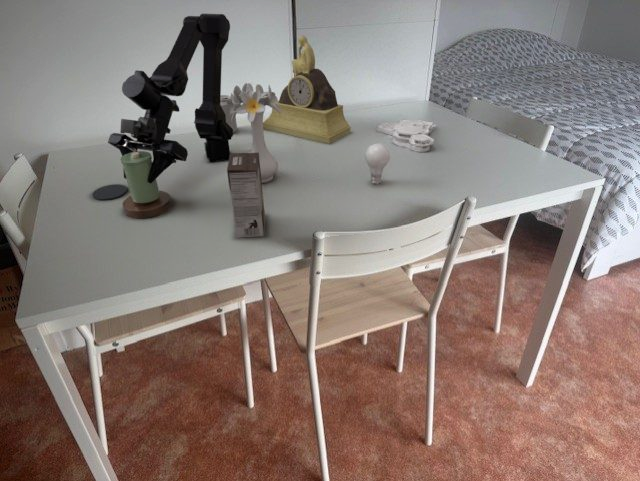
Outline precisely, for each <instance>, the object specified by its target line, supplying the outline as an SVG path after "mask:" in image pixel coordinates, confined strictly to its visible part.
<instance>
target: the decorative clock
mask: <svg viewBox="0 0 640 481" xmlns="http://www.w3.org/2000/svg"><path fill="white" fill-rule="evenodd" d="M297 40H298V43H299V46H298V49H297V50H298V53H297V58H298V59H297V58H296V59H295V58H294V59H292V60H291V65H292V73H293V74H294V75H293V77H292V78H291V79H290V80H289V82H288V84H287V85H286V86H285V87H284V88H283V89H282V91H281V93H280V96H279V100H278V102H277V104H274V105H277V106H278V107H279V108H280V110H281V111H282V114H281V113H280V112H278V111H276V110H275V109H273V108H272V109H271V112H270V114H269V116H268V117H267V118H266V119H265V120H263V130H268V131H272V132H277V133H281V134H285V135H289V136H294V137H298V138H302V139H305V140H311V141H314V142H319V143H323V144H327V145H330V144H332V143H334V142H336V141H338V140H340V139H341V138H343V137H345V136H347V135H349V134H351V126H350V124H349V122H348V121H347V120H346V117H345V113H344V105H343V104H338V100H337V96H336V90H335V89H334V88H333V86H332V85H331V84H330V82H329V81H328V78H327V76H326V75H325V73H324V72H323V70H321V69H319V68H316V57H315V53H314V49H313V48H312V46H311V45H310V43H309V41H308V38H307V37H306V36H305V35H303V34H302V35H300V36H299V37H298V38H297Z"/></svg>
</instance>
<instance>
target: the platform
mask: <svg viewBox="0 0 640 481" xmlns="http://www.w3.org/2000/svg"><path fill="white" fill-rule="evenodd" d="M159 193H160V196H159V198H158V199H156V200H154V201H152V202H148V203H136V202H134V201H133V200H132V197H131V195H128V197H126V198H125V199H124V200H123V202H122V208H123V212H124V214H125V215H126V216H127V217H128V218H129V217H130V218H133V219H151V218H154V217H158V216H160V215H163V214H164V213H166V212H167V211H169V210H170V209H171V207H172V199H171V195H170V193H168V192H166V191H164V190H160V189H159Z"/></svg>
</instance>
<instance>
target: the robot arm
mask: <svg viewBox="0 0 640 481" xmlns="http://www.w3.org/2000/svg"><path fill="white" fill-rule="evenodd" d="M230 31H231V23H230V20H229V19H228V18H227V16H226V15H225V14H223V13H203V12H202V13H200V15H187V16H185V17H184V18H183V20H182V27H181V28H180V31H179V33H178V35H177V38H176V40H175V42H174V44H173V46H172V48H171V50H170V52H169V55H168V56H167V58H166V59H165V60H164V61H162V62H161V63H159V64H157V66H156V68H155V70H153V72H152V74H151V76H148V74H147V73H146V72H145V71H144V70H137V69H136V70H135V71H134V74H132V75H130V76H128V77H127V78H126V80H125V81H123V83H122V86H121V92H122V94H123V95H124V96H125V97H126V98H128V99H129V100H130V102H132V103H134V104H135V105H136V106H137V107H139V108H140V109H142V110H145V113H144V115H143V116H139V117H138V118H137V120H135V119H126V118H121V119H120V131H119V132H120V133H118V132H113V133H111V134H110V135H109V137H108V140H107V144H109V145H111V146H113V147H114V148H116V149H117V150H119V152H120V154H121V157H122V156H123V155H125V154H128V153H131V152H137V151H138V150H140V151H147V152H152V166H151V169H150V172H149V176H148V182H149V183H152V182H153V181H154V180H155V179H156V180H157V178H159V177H160V175H162V174H163V172H164V171H166V170H167V169H168V168H169V167H170V166H171V165H172V164H176V163H177V161H179V162H180V161H181V162H187V159H188V155H189V153H188V149H187V148H186V147H184V145H182V144H181V143H179V142H178V141H177V140H171V139H165V138H166V135H167V134H169V135H170V134H171V131H172V130H171V129H170V127H169V126H170V122H171V120H172V119H171V118H172V115H173V112H177V113H179V112H180V107H179V105H178V103H177V100H176V99H171V98H170V97H181V96H183V95H184V93H185V91H186V89H187V85H188V82H189V76H188V68H189V66H190V63H191V62H192V59H193V57H194V54H195V52H196V50H197V48H198V45H199V44H201V46H202V48H203V52H202V54H203V55H202V56H203V57H202V58H203V60H202V62H203V63H202V103H201V104H200V106H199V107H198V108H195V109H194V121H193V123H194V126H195V131H196V132H197V134H198V136H199V139H204V140H205V141H204V143H203V144H204V151H205V156H206V158H207V159H208V160H209V162H210V163H213V162H221V161H226V160H227V161H229V156H230V154H231V152H230V151H231V150H230V143H229V142H230V140H232V138H233V137H234V133H233V129H232V128H231V127H230V126H229V125H228V124H227V123H226V115H225V113H224V111H223V109H222V107H221V105H220V98H221V95H222V66H223V65H222V62H223V50H224V48H225V47H226V45H227V43H228V41H229V37H230ZM128 134H130V136H129V135H128ZM135 139H136V140H135ZM122 168H123V167H122ZM123 178H124V179H125V180H127V179H126V175H125V171H124V168H123Z"/></svg>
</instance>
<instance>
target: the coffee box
mask: <svg viewBox="0 0 640 481" xmlns="http://www.w3.org/2000/svg"><path fill="white" fill-rule="evenodd" d="M226 172H227V180H228V186H229V194H230V202H231V210H232V218H233V223H234V224H233V226H234V231H235V232H234V233H235V238H237V239H238V238H239V239H241V238H257V237H265V229H266V227H265V226H266V212H265V211H266V210H265V204H264V192H263V183H262V181H261V171H260V161H259V152H258V153H251V152H230V156H229V159H228V162H227V169H226Z"/></svg>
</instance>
